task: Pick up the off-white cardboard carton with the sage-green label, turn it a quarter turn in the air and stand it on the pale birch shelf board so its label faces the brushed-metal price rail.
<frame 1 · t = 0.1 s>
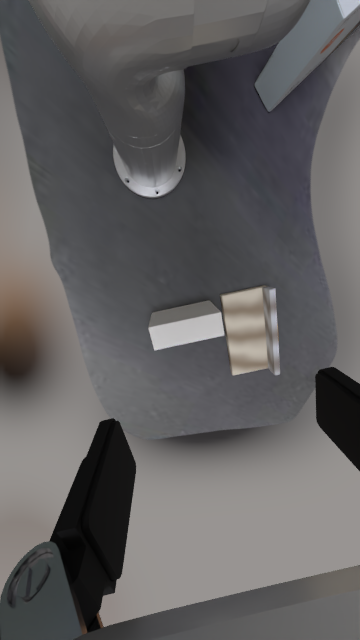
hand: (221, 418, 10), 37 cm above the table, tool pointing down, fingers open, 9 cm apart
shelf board: (246, 331, 48), on the table
skincare box: (312, 52, 34), on the table
carton: (182, 315, 46), on the table
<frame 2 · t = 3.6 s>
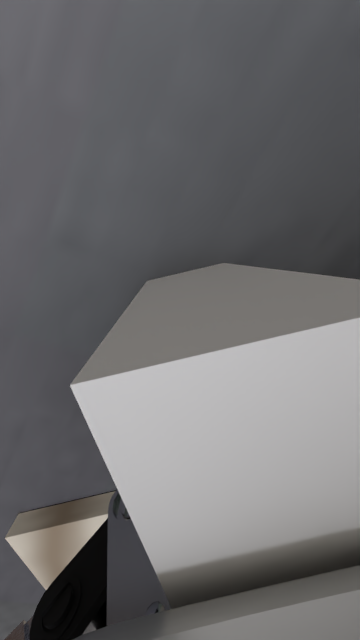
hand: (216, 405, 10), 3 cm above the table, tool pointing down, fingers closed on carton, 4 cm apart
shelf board: (155, 524, 18), on the table
carton: (205, 368, 14), on the table, touching gripper
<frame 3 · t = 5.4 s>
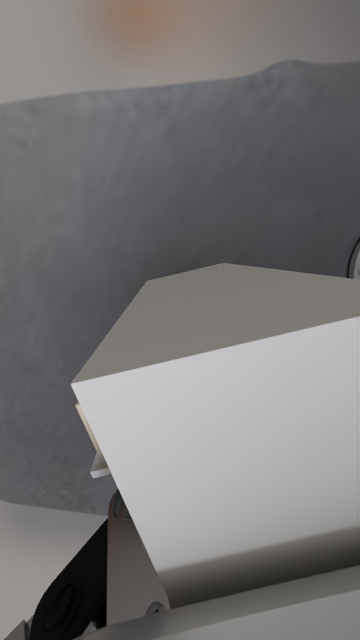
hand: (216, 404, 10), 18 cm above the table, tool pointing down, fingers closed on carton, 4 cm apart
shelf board: (154, 408, 32), on the table
carton: (205, 368, 14), point 15 cm above the table, touching gripper
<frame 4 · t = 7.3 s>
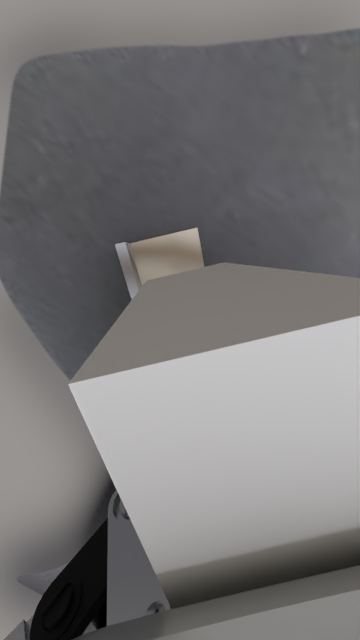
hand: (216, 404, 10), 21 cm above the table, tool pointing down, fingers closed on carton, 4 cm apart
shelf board: (176, 308, 31), on the table
carton: (205, 368, 14), point 18 cm above the table, touching gripper
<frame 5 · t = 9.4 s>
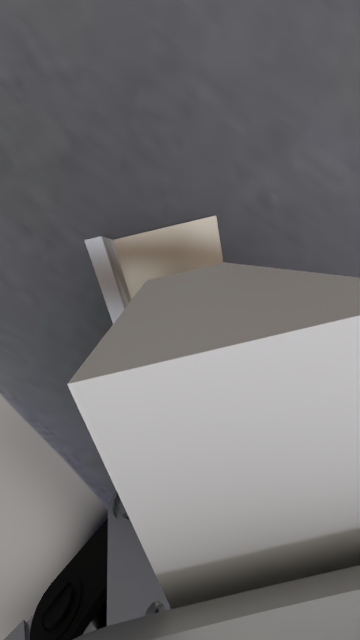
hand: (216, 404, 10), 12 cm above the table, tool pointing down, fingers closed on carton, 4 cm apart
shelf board: (182, 332, 22), on the table
carton: (205, 368, 14), point 8 cm above the table, touching gripper
when the fingers open (6 cm above the table, at t = 11.2 s): carton stays where it is, resting on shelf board.
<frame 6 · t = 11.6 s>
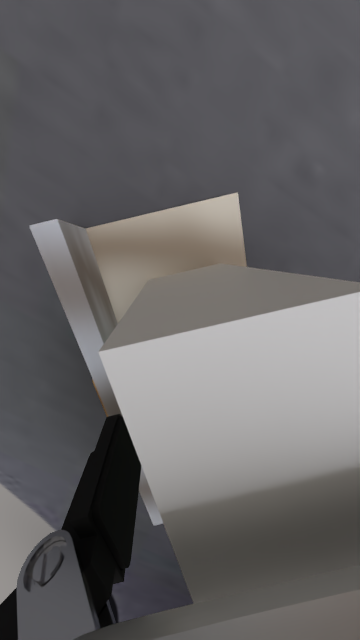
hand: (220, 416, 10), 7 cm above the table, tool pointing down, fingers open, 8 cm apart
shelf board: (186, 355, 16), on the table
carton: (203, 362, 15), point 1 cm above the table, touching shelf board
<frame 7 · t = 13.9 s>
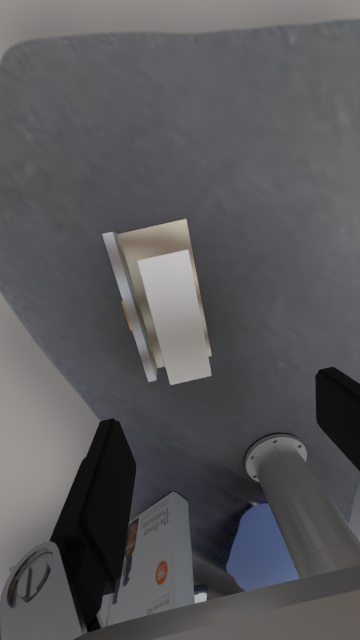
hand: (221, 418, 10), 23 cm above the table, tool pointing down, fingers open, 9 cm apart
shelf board: (165, 300, 31), on the table
phone case: (191, 598, 58), on the table
skincare box: (144, 517, 46), on the table
carton: (173, 301, 29), point 1 cm above the table, touching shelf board
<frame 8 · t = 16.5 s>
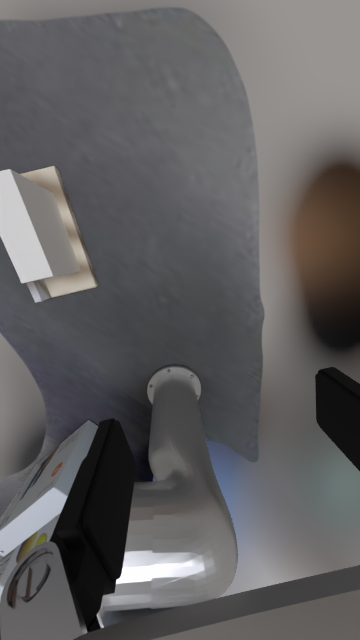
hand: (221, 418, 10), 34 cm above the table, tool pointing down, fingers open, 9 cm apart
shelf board: (53, 238, 38), on the table
skincare box: (68, 446, 52), on the table
carton: (55, 237, 36), point 1 cm above the table, touching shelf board
supplement box: (49, 507, 58), on the table
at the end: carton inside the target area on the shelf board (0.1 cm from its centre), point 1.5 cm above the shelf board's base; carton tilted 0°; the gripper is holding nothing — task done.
